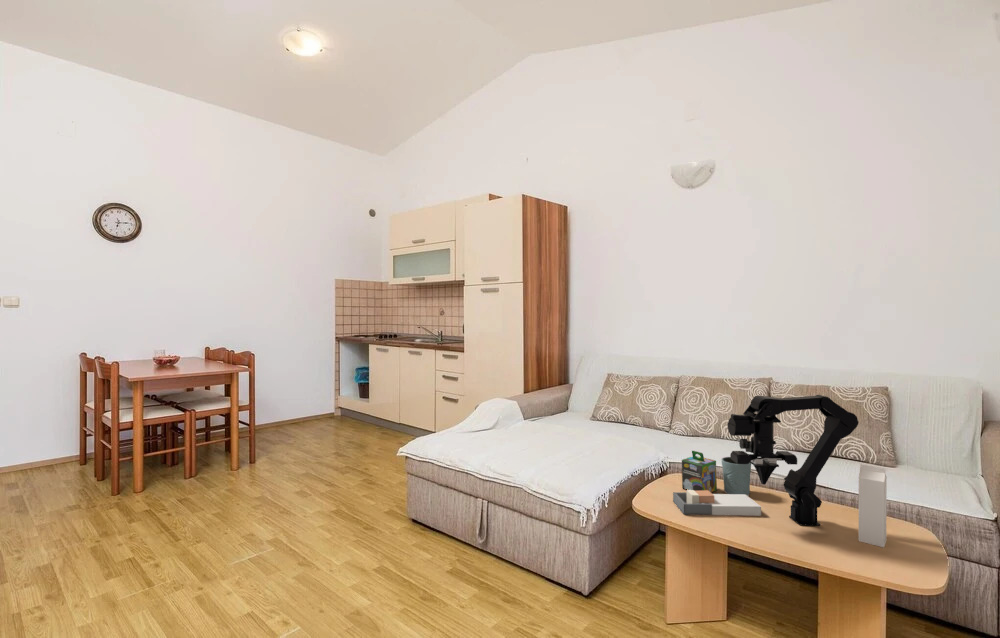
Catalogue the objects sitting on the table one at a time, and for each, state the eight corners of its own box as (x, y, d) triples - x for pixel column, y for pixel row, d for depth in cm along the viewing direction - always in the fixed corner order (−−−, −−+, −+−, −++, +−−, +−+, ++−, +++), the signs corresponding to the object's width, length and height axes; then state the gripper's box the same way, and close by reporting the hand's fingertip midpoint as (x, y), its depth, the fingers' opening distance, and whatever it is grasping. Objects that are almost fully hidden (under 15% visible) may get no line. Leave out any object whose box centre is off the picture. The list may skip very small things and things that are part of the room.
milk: (861, 534, 147) (861, 461, 147) (886, 540, 143) (886, 466, 143) (858, 541, 142) (858, 466, 142) (884, 548, 138) (884, 470, 138)
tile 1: (693, 489, 169) (686, 489, 169) (699, 495, 164) (692, 495, 164) (693, 504, 169) (686, 504, 169) (699, 509, 164) (692, 510, 164)
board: (745, 502, 172) (745, 494, 172) (761, 515, 161) (761, 506, 161) (699, 502, 172) (699, 493, 172) (712, 515, 161) (712, 506, 161)
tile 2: (708, 497, 169) (707, 490, 169) (714, 502, 164) (714, 495, 164) (693, 497, 169) (693, 490, 169) (699, 503, 164) (699, 495, 164)
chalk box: (717, 491, 183) (717, 452, 183) (702, 496, 178) (702, 456, 178) (695, 484, 191) (695, 446, 191) (681, 488, 186) (681, 450, 186)
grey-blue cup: (741, 499, 175) (741, 466, 175) (715, 490, 184) (715, 459, 184) (756, 493, 181) (756, 461, 181) (731, 485, 189) (731, 454, 189)
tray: (699, 502, 172) (699, 492, 172) (711, 515, 161) (711, 504, 161) (673, 502, 173) (673, 492, 173) (683, 514, 162) (683, 504, 162)
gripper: (779, 430, 164) (779, 476, 164) (723, 429, 165) (723, 475, 165) (798, 438, 153) (798, 487, 153) (738, 438, 153) (738, 487, 154)
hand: (763, 484), depth 156 cm, fingers closed
